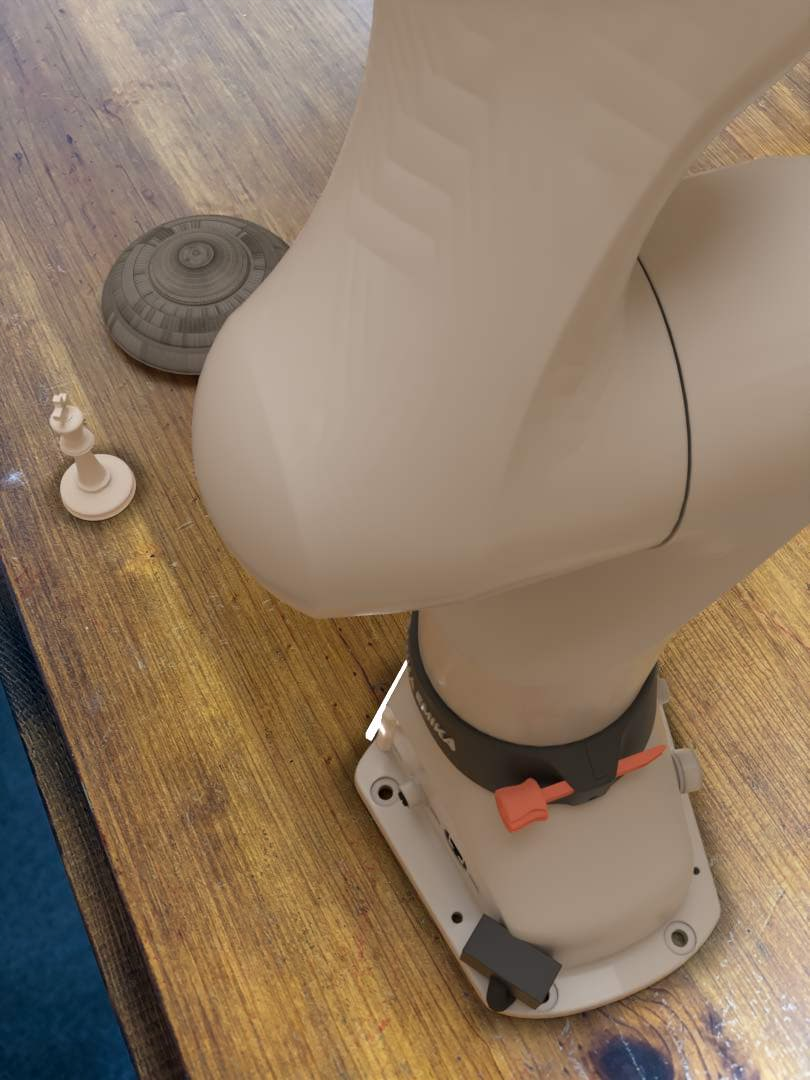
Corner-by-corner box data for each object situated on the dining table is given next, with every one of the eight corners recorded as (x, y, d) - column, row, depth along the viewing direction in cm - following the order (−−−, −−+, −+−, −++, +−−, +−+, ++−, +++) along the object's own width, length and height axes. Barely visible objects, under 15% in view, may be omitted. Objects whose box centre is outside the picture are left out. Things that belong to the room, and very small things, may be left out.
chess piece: (143, 461, 72) (108, 368, 63) (126, 524, 70) (87, 436, 61) (71, 455, 72) (27, 361, 63) (53, 517, 70) (3, 429, 61)
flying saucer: (81, 269, 80) (61, 214, 76) (266, 209, 84) (258, 153, 79) (142, 415, 74) (125, 365, 69) (341, 345, 77) (337, 293, 72)
